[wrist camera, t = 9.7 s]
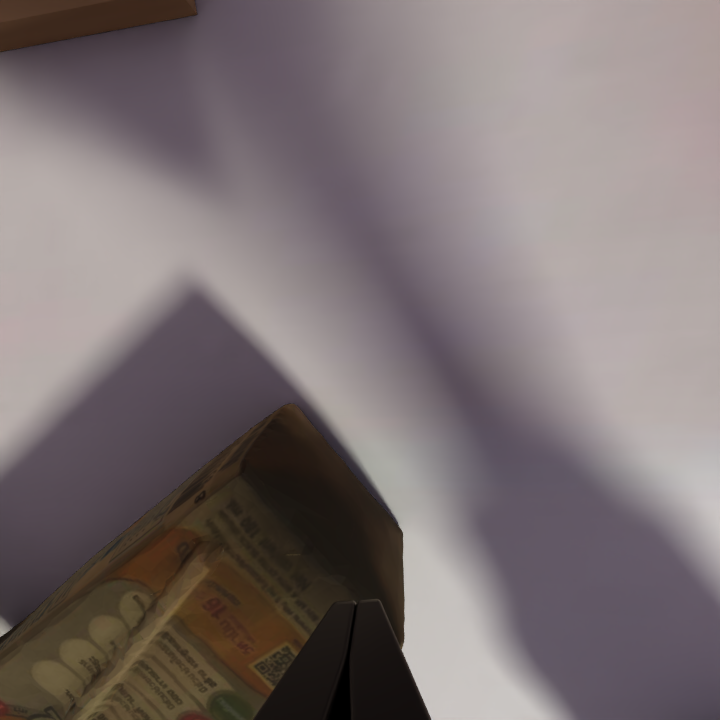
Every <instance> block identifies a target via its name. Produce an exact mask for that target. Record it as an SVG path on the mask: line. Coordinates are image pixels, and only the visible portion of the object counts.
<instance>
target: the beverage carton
mask: <svg viewBox="0 0 720 720" xmlns="http://www.w3.org/2000/svg"><path fill="white" fill-rule="evenodd" d="M366 599H378V600H380V602H381V603H382V606H383V608H384V610H385V613H386V615H387V617H388V620H389V622H390V624H391V627H392V629H393V631H394V634H395V636H396V638H397V641H398V643H399V645H400V648H401V649H402V647H403V643H404V619H405V617H404V575H403V532H402V530H401V529H400V528H399V526H398V525H397V524H396V523H395V522H394V520H393V519H392V518H391V517H390V516H389V514H388V513H387V512H386V511H385V510H384V509H383V508H382V507H381V505H380V504H379V503H378V502H377V501H376V500H375V499H374V498H373V497H372V496H371V494H370V493H369V492H368V491H367V490H366V488H365V487H364V486H363V485H362V484H361V482H360V481H359V480H358V479H357V478H356V476H355V475H354V474H353V473H352V472H351V471H350V469H349V468H348V466H347V465H346V464H345V462H344V461H343V460H342V459H341V458H340V456H339V455H338V454H337V453H336V452H335V451H334V450H333V449H332V448H331V447H330V446H329V444H328V443H327V442H326V440H325V439H324V438H323V436H322V435H321V434H320V433H319V432H318V431H317V430H316V429H315V428H314V427H313V425H312V424H311V423H310V421H309V420H308V419H307V418H306V416H305V415H304V414H303V412H302V411H301V410H300V409H299V408H298V407H297V406H296V405H295V404H287V405H284V406H283V407H281V408H280V409H278V410H277V411H275V412H274V413H272V414H271V415H269V416H268V417H267V418H265V419H264V420H263V421H261V422H260V423H258V424H257V425H255V426H254V427H253V428H251V429H250V430H249V431H248V432H247V433H245V434H244V435H243V436H241V437H240V438H239V439H238V440H236V441H235V442H234V443H232V444H231V445H230V446H229V447H227V448H226V449H225V450H224V451H223V452H221V453H220V454H219V455H218V456H216V457H215V458H214V459H212V460H211V461H210V462H208V463H207V464H206V465H204V466H203V467H202V468H201V469H200V470H198V471H197V472H196V473H195V474H194V475H192V476H191V477H190V478H189V479H188V480H186V481H185V482H184V483H183V484H182V485H180V486H179V487H178V488H177V489H176V490H174V491H173V492H172V493H171V494H170V495H168V496H167V497H166V498H164V499H163V500H162V501H161V502H160V503H159V504H157V505H156V506H155V507H154V508H153V509H151V510H150V511H149V512H147V513H146V514H145V515H144V516H142V517H141V518H140V519H139V520H138V521H137V522H135V523H134V524H133V525H132V526H130V527H129V528H128V529H127V530H126V531H124V532H123V533H122V534H121V535H119V536H118V537H117V538H115V539H114V540H113V541H112V542H111V543H109V544H108V545H107V546H106V547H104V548H103V549H102V550H101V551H100V552H98V553H97V554H96V555H95V556H93V557H92V558H91V559H90V560H89V561H88V562H87V563H86V564H85V565H84V566H82V567H81V568H80V569H79V570H78V571H77V572H76V573H75V574H74V575H72V576H71V577H70V578H69V579H68V580H67V581H66V582H65V583H64V584H63V585H62V586H61V587H59V588H58V589H57V590H56V591H55V592H54V593H53V594H51V595H50V596H49V597H48V598H47V599H46V600H45V601H44V602H43V603H42V604H41V605H40V606H39V607H38V608H37V609H36V610H35V611H34V612H33V613H31V614H30V615H29V616H28V617H27V618H26V619H25V620H24V621H22V622H21V623H20V624H18V625H17V626H15V627H14V628H13V629H11V630H10V631H9V632H7V633H6V634H4V635H3V636H1V637H0V720H253V718H254V717H255V716H256V714H257V713H258V711H259V710H260V708H261V707H262V705H263V704H264V703H265V701H266V700H267V698H268V697H269V695H270V694H271V692H272V691H273V689H274V688H275V687H276V685H277V684H278V682H279V681H280V679H281V678H282V676H283V675H284V674H285V672H286V671H287V669H288V668H289V666H290V665H291V663H292V662H293V660H294V659H295V658H296V656H297V655H298V653H299V652H300V650H301V649H302V647H303V646H304V645H305V643H306V642H307V640H308V639H309V637H310V636H311V634H312V633H313V631H314V630H315V629H316V627H317V626H318V624H319V623H320V621H321V620H322V618H323V617H324V615H325V614H326V613H327V611H328V610H329V608H330V607H331V605H332V604H333V603H334V602H337V601H351V600H353V601H355V602H356V603H357V602H358V601H359V600H366Z"/></svg>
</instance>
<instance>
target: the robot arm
mask: <svg viewBox="0 0 720 720" xmlns="http://www.w3.org/2000/svg"><path fill="white" fill-rule="evenodd" d="M253 720H431V717H430V715H429V713H428V710H427V708H426V706H425V703H424V701H423V699H422V696H421V694H420V692H419V690H418V687H417V685H416V683H415V680H414V678H413V676H412V673H411V671H410V669H409V666H408V664H407V662H406V659H405V657H404V655H403V652H402V650H401V648H400V645H399V643H398V641H397V638H396V636H395V634H394V631H393V629H392V627H391V624H390V622H389V620H388V617H387V615H386V613H385V610H384V608H383V606H382V603H381V602H380V600H378V599H366V600H359V601H358V602H357V603H356V602H355V601H353V600H351V601H337V602H334V603H333V604H332V605H331V607H330V608H329V610H328V611H327V613H326V614H325V615H324V617H323V618H322V620H321V621H320V623H319V624H318V626H317V627H316V629H315V630H314V631H313V633H312V634H311V636H310V637H309V639H308V640H307V642H306V643H305V645H304V646H303V647H302V649H301V650H300V652H299V653H298V655H297V656H296V658H295V659H294V660H293V662H292V663H291V665H290V666H289V668H288V669H287V671H286V672H285V674H284V675H283V676H282V678H281V679H280V681H279V682H278V684H277V685H276V687H275V688H274V689H273V691H272V692H271V694H270V695H269V697H268V698H267V700H266V701H265V703H264V704H263V705H262V707H261V708H260V710H259V711H258V713H257V714H256V716H255V717H254V718H253Z"/></svg>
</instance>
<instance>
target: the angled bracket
mask: <svg viewBox="0 0 720 720" xmlns="http://www.w3.org/2000/svg"><path fill="white" fill-rule="evenodd" d="M192 15H197V11H196V6H195V0H0V52H1V51H7V50H12V49H17V48H23V47H28V46H33V45H38V44H44V43H49V42H54V41H60V40H65V39H70V38H76V37H81V36H86V35H92V34H97V33H102V32H108V31H113V30H118V29H123V28H129V27H134V26H139V25H145V24H150V23H155V22H161V21H166V20H171V19H177V18H182V17H187V16H192Z"/></svg>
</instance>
